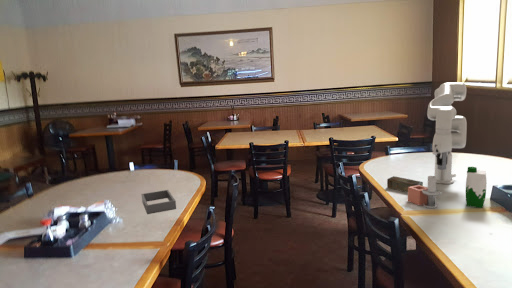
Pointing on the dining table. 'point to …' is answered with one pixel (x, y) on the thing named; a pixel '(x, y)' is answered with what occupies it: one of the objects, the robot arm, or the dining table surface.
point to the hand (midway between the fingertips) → (441, 164)
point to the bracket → (417, 195)
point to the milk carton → (475, 187)
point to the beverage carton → (401, 183)
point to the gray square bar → (443, 161)
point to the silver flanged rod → (431, 192)
